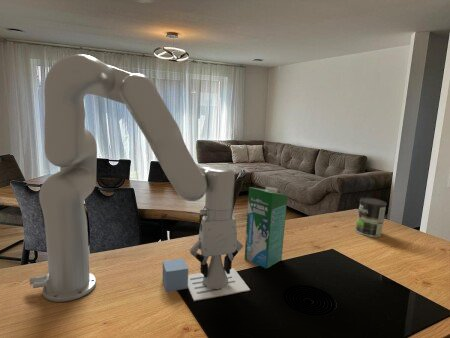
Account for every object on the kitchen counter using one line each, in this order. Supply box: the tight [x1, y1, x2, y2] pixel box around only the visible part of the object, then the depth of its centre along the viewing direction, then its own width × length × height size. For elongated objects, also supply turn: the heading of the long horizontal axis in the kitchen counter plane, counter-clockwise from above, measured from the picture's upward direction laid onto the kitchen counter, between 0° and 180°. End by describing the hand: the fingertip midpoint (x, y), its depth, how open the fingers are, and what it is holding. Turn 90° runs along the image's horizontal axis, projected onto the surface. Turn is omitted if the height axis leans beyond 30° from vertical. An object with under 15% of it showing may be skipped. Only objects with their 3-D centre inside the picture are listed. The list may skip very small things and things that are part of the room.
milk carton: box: [244, 186, 288, 270], centre depth 98 cm, size 9×9×25 cm
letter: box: [187, 267, 251, 302], centre depth 85 cm, size 16×12×1 cm
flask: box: [202, 255, 228, 289], centre depth 84 cm, size 7×7×10 cm
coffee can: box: [355, 197, 387, 238], centre depth 127 cm, size 10×10×14 cm
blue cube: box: [162, 258, 189, 293], centre depth 83 cm, size 6×6×6 cm
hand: (215, 272), depth 84 cm, fingers open, 6 cm apart
